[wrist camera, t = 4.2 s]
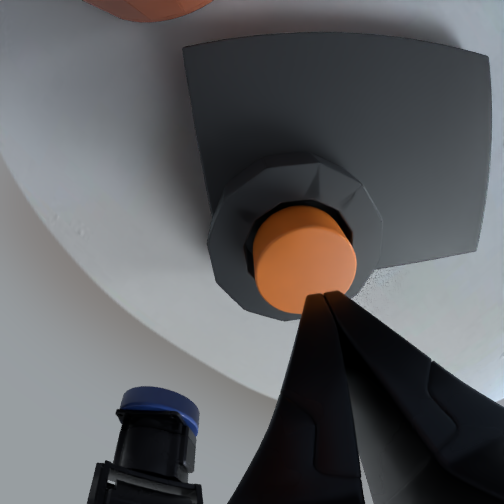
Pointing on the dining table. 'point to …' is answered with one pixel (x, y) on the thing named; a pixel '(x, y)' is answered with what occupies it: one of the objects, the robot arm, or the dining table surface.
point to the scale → (341, 146)
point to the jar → (148, 8)
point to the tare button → (301, 257)
